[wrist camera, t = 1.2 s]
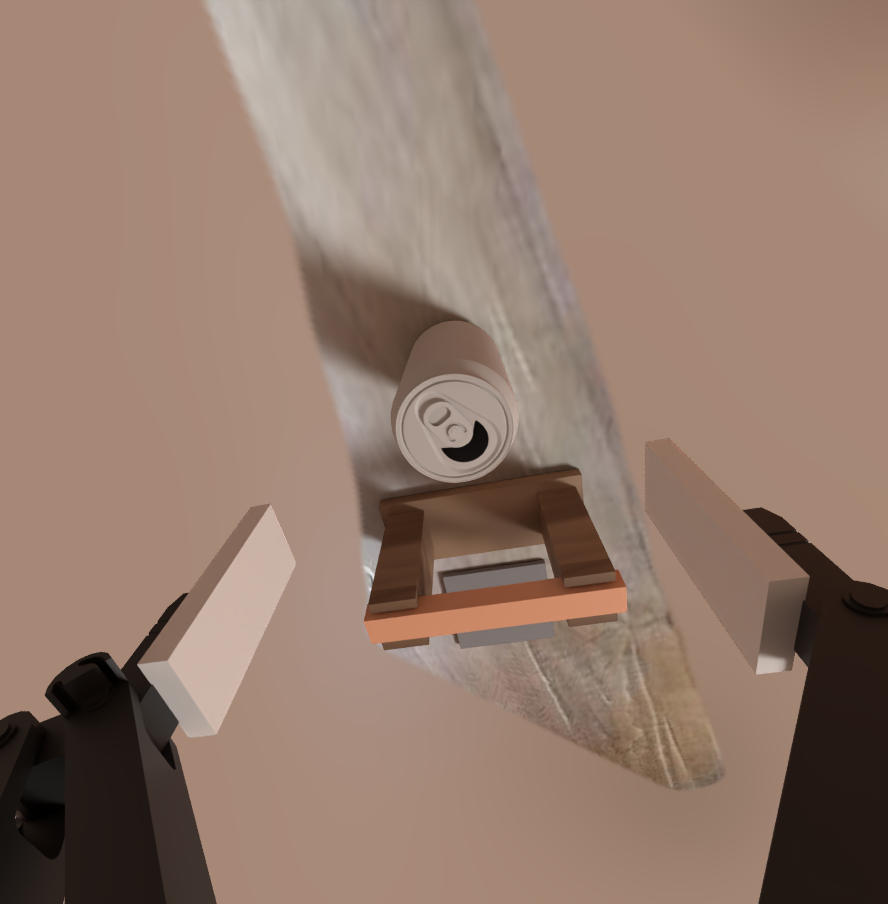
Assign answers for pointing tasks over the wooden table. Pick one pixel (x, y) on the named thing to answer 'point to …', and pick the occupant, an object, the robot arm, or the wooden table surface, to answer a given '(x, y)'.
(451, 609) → the crossbar
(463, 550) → the walnut stand
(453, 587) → the rubber mat
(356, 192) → the wooden table surface
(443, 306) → the wooden table surface
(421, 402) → the beverage can
